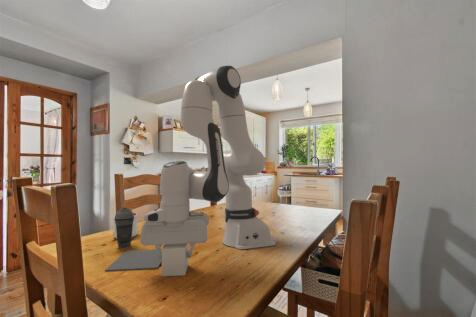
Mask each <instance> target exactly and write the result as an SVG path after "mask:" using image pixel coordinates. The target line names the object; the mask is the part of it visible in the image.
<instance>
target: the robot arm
mask: <svg viewBox="0 0 476 317" xmlns="http://www.w3.org/2000/svg"><path fill="white" fill-rule="evenodd" d="M241 85H242V82H241V76H240V73H239V72H238V70H237V69H236V68H235V67H234V66H233V65H222V66H219V67H218V68H214V69H212V70H209V71H207V72H206V73H204V74H202V75H201V76H198V77H196V78H195V79H193V80H190V81H189V82H187V83H186V84H185V86H184V90H183V92H182V98H181V106H180V108H181V110H180V123H181V127H182V128H183V130H184V131H185V132H186V134H188V135H190V136H193V137H194V138H197V139H199V140H201V141H202V142H203V143H204V145H205V148H206V155H207V156H206V157H207V167H208V168H207V170H206V171H205V170H202V171H201V170H200V171H199V170H195V169H193V168H192V167H190V166H189V165H188V162H187V161H184V160H177V161H169V162H166V163H165V164H163V166H162V168H161V172H160V181H159V182H160V184H159V187H160V188H159V190H160V193H161V194H160V195H161V200H160V203H159V204H160V205H159V206H160V207H159V208H157V209H153V210H150V211H149V212H147V213H146V214H145V215H144V217H143V220H144V223H143V225H142V226H141V232H140V243H141V245H142V246H144V247H145V246H155V247H154V250H156V251H157V252H158V254H159V259H162V250H161V249H162V245H163V246H164V245H169V244H188V245H189V247H190V249H188V250H187V252H186V255H187V256H186V258H188V259H191V258H192V254H193V250H194V249H195V246H196V244H205V243H207V242H208V239H209V230H208V226H209V223H210V219H209V218H210V217H209V215H208V214H207V213H205V212H202V211H200V212H194V211H193V212H191V209H190V208H191V207H190V205H191V204H190V200H191V199H192V200H200V201H206V202H207V201H208V202H213V203H219V202H221V200H222V199H224V198H225V208H224V221H225V227H224V234H223V238H222V244H224V245H225V246H228V247H232V248H235V249H237V250H247V249H248V250H249V249H256V248H257V249H258V248H265V247H272V246H275V245H276V244H277V239H276V237H275V236H274V235H272V233H271V229H270V226H269V225H268V224H267V223H266V222H264V221H263V220H262V219H261V218H260V217H258V216H259V214H260V211H259V210H258V209H256V208H254V207H253V200H252V199H253V198H252V197H253V196H252V195H253V194H252V193H253V191H252V188H251V187H250V186H249V185H248V184H247V183H246V181H245V179H244V177H245V176H247V177H248V176H249V177H250V176H254V175H258V174H261V173H262V171H263V170H264V168H265V165H266V160H265V156H264V154H263V153H262V151H260V150H259V149H258V148H256V146H255V145H254V143H253V141H252V140H251V138H250V135H249V131H248V125H247V116H246V109H245V105H244V101H243V98H242V94H240V91H241ZM215 101H216V103H217V105H218V116H219V117H218V118H219V123H220V124H219V125H220V127H219V126H218V125H217V124H215V122H214V119H213V102H215ZM222 139H223V140H225V141H226V142H227V143H228V145H229V146H230V148H231V150H224V149H223V148H224V147H223V140H222Z"/></svg>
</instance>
